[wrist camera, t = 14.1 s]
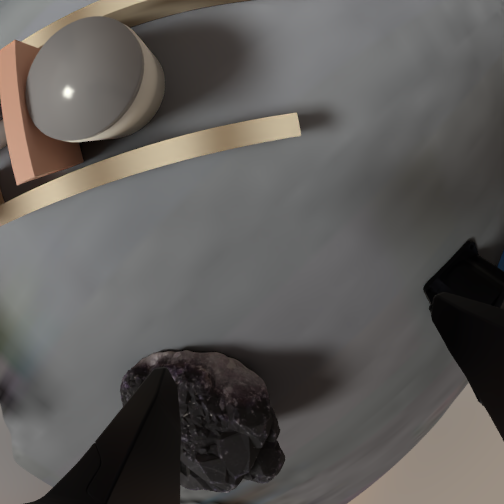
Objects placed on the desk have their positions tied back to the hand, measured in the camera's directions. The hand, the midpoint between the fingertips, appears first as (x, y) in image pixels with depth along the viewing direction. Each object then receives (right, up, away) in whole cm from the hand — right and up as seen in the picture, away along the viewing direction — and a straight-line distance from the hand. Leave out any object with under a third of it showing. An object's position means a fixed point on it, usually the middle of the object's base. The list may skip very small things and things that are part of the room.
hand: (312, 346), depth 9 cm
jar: (-10, +12, +6) cm, 17 cm away
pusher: (-18, +10, +5) cm, 21 cm away
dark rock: (-7, -10, +16) cm, 20 cm away
